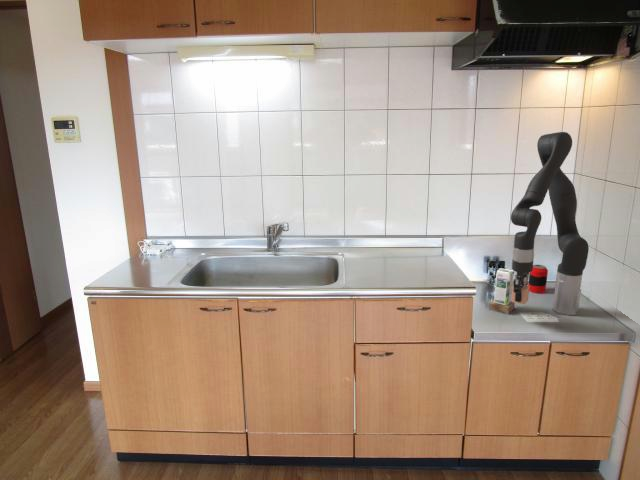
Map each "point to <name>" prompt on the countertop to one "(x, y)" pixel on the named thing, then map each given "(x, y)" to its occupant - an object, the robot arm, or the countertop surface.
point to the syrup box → (503, 286)
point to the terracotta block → (524, 295)
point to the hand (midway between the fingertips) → (519, 299)
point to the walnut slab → (501, 307)
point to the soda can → (538, 279)
